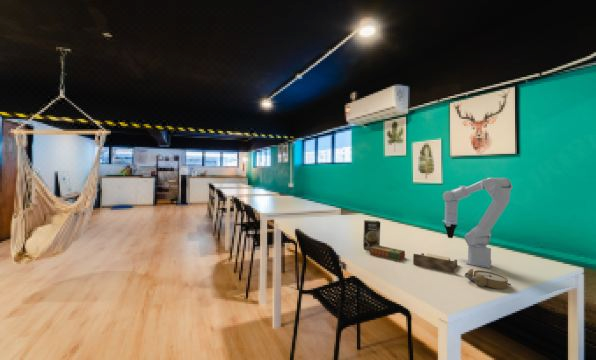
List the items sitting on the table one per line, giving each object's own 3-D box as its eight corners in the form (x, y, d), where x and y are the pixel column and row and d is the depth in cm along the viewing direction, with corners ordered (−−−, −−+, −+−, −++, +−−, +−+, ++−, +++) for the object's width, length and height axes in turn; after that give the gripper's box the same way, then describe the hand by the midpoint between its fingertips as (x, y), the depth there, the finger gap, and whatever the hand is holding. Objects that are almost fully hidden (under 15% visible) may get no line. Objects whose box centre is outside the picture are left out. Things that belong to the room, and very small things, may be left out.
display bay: (458, 265, 129) (458, 254, 128) (453, 272, 118) (453, 261, 118) (421, 257, 139) (421, 248, 139) (413, 264, 129) (413, 253, 129)
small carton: (449, 265, 128) (450, 257, 128) (446, 270, 122) (446, 261, 122) (427, 261, 135) (427, 253, 135) (423, 265, 129) (423, 257, 129)
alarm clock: (516, 283, 101) (475, 274, 102) (513, 295, 101) (472, 286, 102) (497, 272, 112) (460, 264, 113) (494, 283, 112) (457, 275, 114)
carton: (376, 252, 150) (376, 244, 150) (405, 258, 140) (405, 250, 140) (369, 255, 144) (369, 247, 144) (399, 261, 133) (399, 253, 133)
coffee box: (363, 249, 154) (364, 221, 154) (362, 246, 161) (363, 219, 160) (380, 250, 153) (380, 222, 152) (378, 247, 159) (379, 220, 159)
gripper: (445, 211, 153) (444, 234, 153) (439, 213, 142) (439, 238, 142) (459, 212, 149) (459, 236, 149) (454, 215, 137) (454, 241, 138)
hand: (450, 237), depth 145 cm, fingers closed
